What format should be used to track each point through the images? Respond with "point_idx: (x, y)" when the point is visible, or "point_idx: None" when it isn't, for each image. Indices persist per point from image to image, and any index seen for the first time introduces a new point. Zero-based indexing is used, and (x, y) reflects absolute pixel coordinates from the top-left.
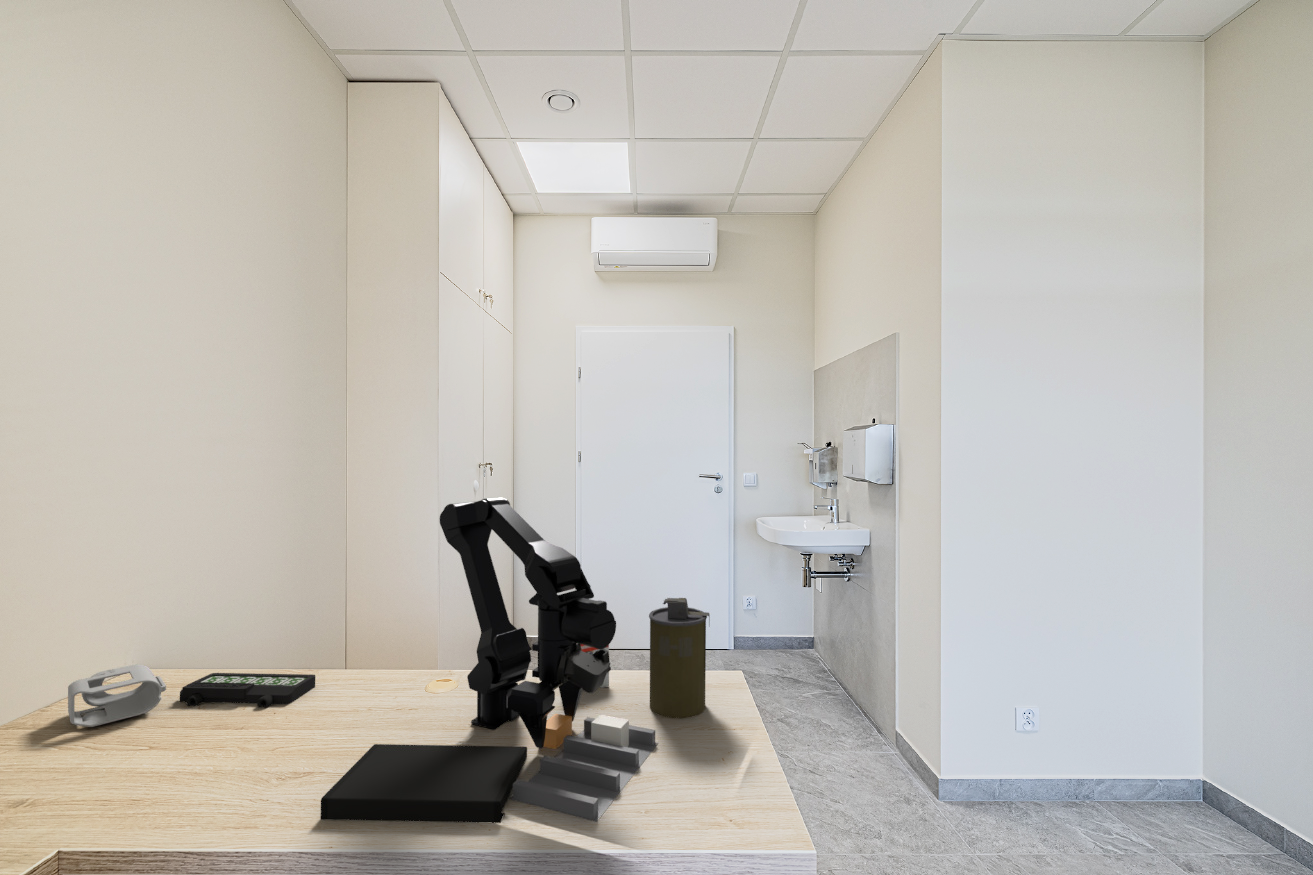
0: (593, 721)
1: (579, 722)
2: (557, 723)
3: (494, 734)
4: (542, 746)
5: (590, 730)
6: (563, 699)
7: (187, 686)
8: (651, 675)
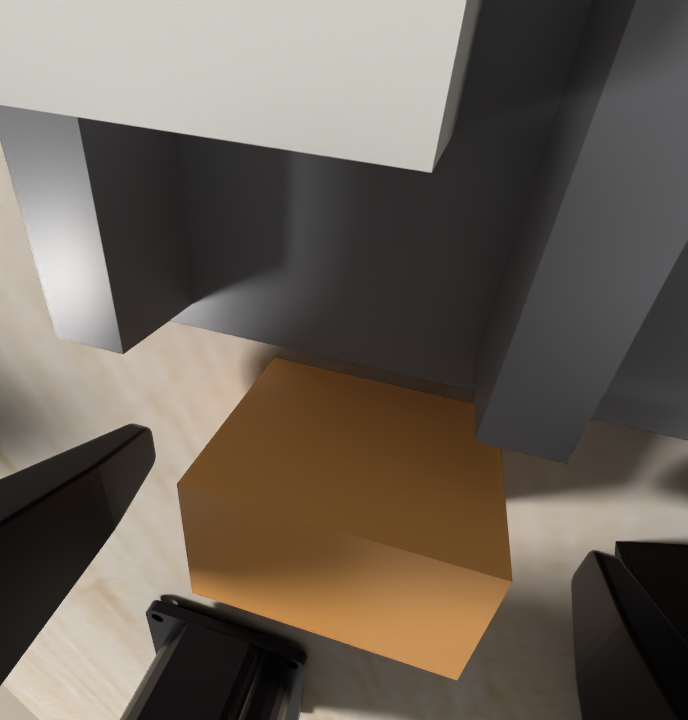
0: (363, 131)
1: (62, 367)
2: (360, 577)
3: (338, 661)
4: (618, 563)
5: (170, 252)
6: (26, 627)
7: None
8: None
